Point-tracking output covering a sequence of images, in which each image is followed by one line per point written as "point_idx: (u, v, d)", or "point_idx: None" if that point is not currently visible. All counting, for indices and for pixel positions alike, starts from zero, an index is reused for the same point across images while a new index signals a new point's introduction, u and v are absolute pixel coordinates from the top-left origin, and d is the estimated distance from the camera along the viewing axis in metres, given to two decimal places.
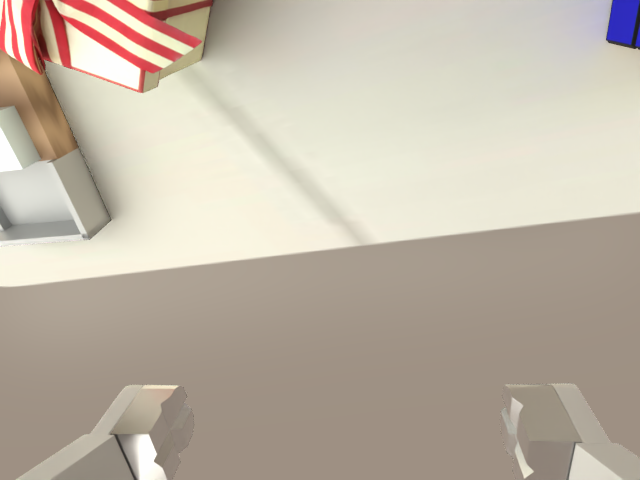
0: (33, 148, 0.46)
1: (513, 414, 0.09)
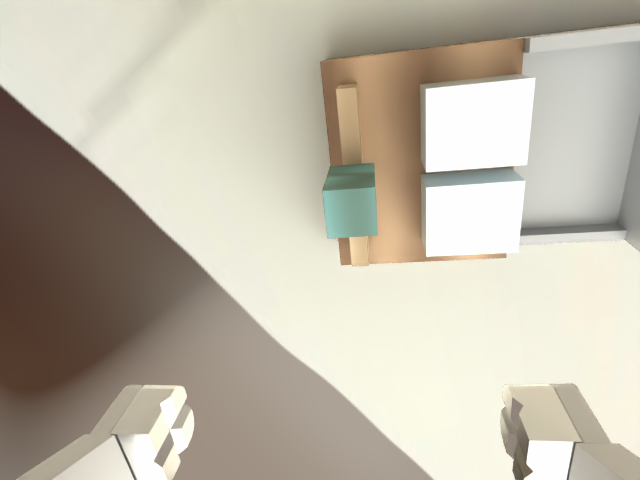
0: (496, 76, 0.26)
1: (513, 414, 0.09)
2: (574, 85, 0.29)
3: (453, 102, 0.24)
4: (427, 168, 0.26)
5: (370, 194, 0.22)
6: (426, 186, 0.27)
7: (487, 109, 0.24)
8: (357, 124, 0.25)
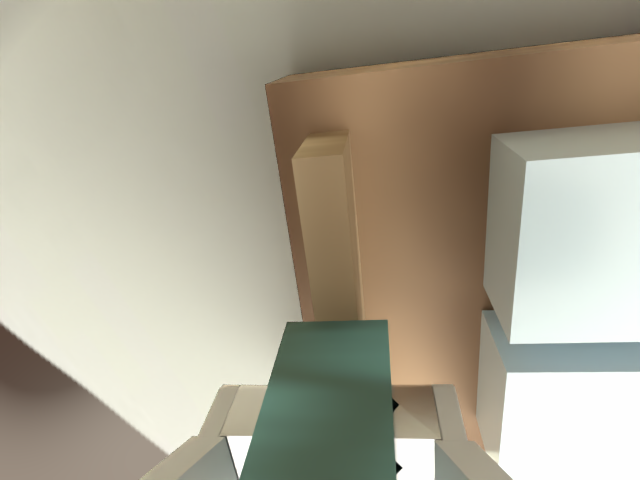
0: None
1: None
2: None
3: (597, 194, 0.09)
4: (514, 336, 0.11)
5: None
6: (506, 366, 0.12)
7: None
8: (347, 239, 0.10)
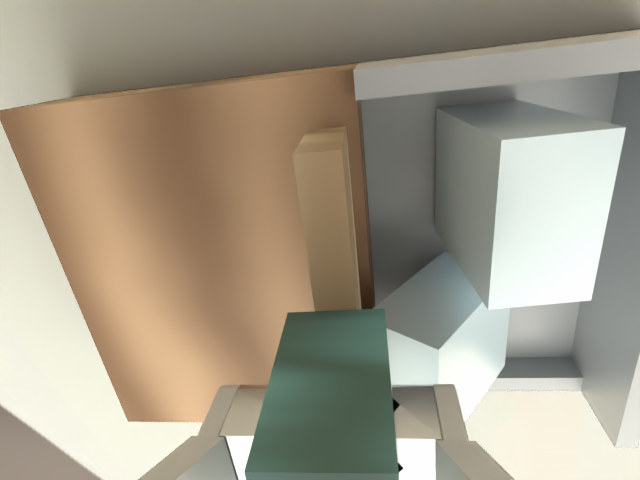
0: (456, 112, 0.14)
1: None
2: None
3: None
4: (590, 291, 0.12)
5: None
6: (431, 346, 0.13)
7: None
8: (346, 231, 0.11)
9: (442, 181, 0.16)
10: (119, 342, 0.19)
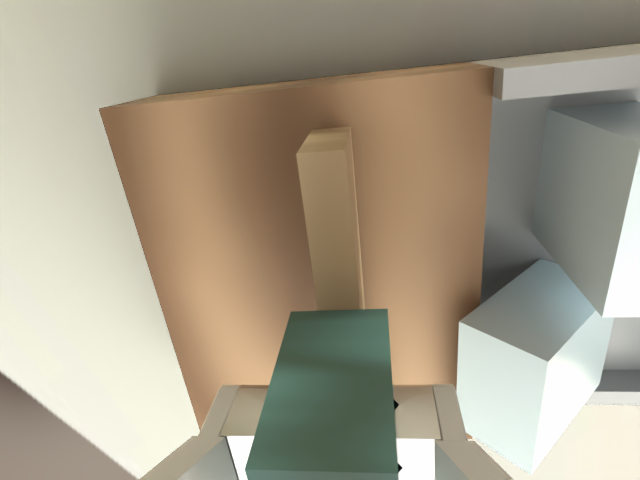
0: (572, 113, 0.14)
1: None
2: None
3: None
4: None
5: None
6: (539, 357, 0.13)
7: None
8: (349, 231, 0.11)
9: (548, 183, 0.15)
10: (201, 350, 0.18)
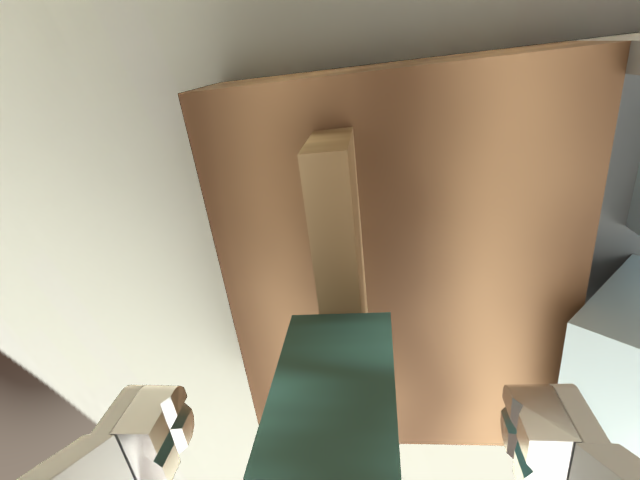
0: None
1: (513, 414, 0.09)
2: None
3: None
4: None
5: None
6: None
7: None
8: (351, 233, 0.11)
9: None
10: (270, 355, 0.17)
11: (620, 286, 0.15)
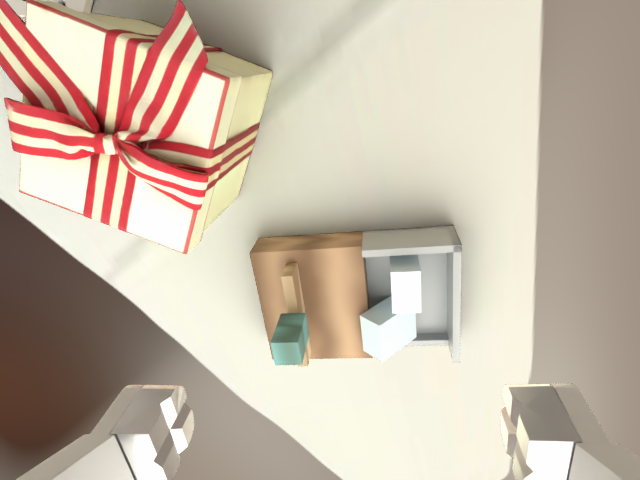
0: None
1: (513, 414, 0.09)
2: None
3: None
4: None
5: (295, 345, 0.41)
6: (377, 324, 0.45)
7: None
8: (294, 293, 0.44)
9: None
10: (275, 327, 0.50)
11: (382, 304, 0.48)
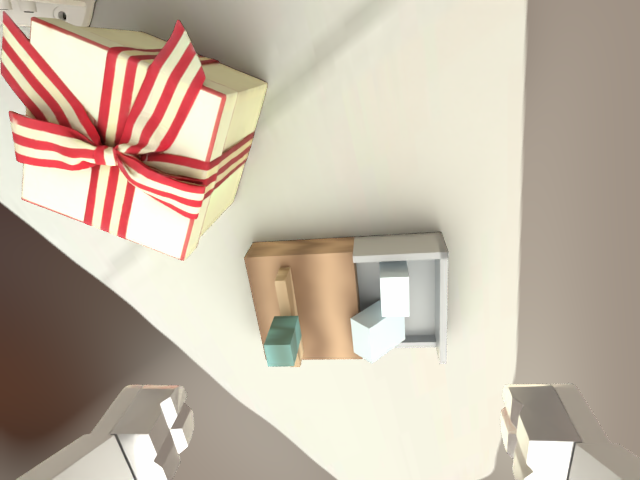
0: None
1: (513, 414, 0.09)
2: None
3: None
4: None
5: (288, 347, 0.42)
6: (367, 327, 0.47)
7: None
8: (287, 297, 0.46)
9: None
10: (268, 329, 0.52)
11: (372, 307, 0.50)
